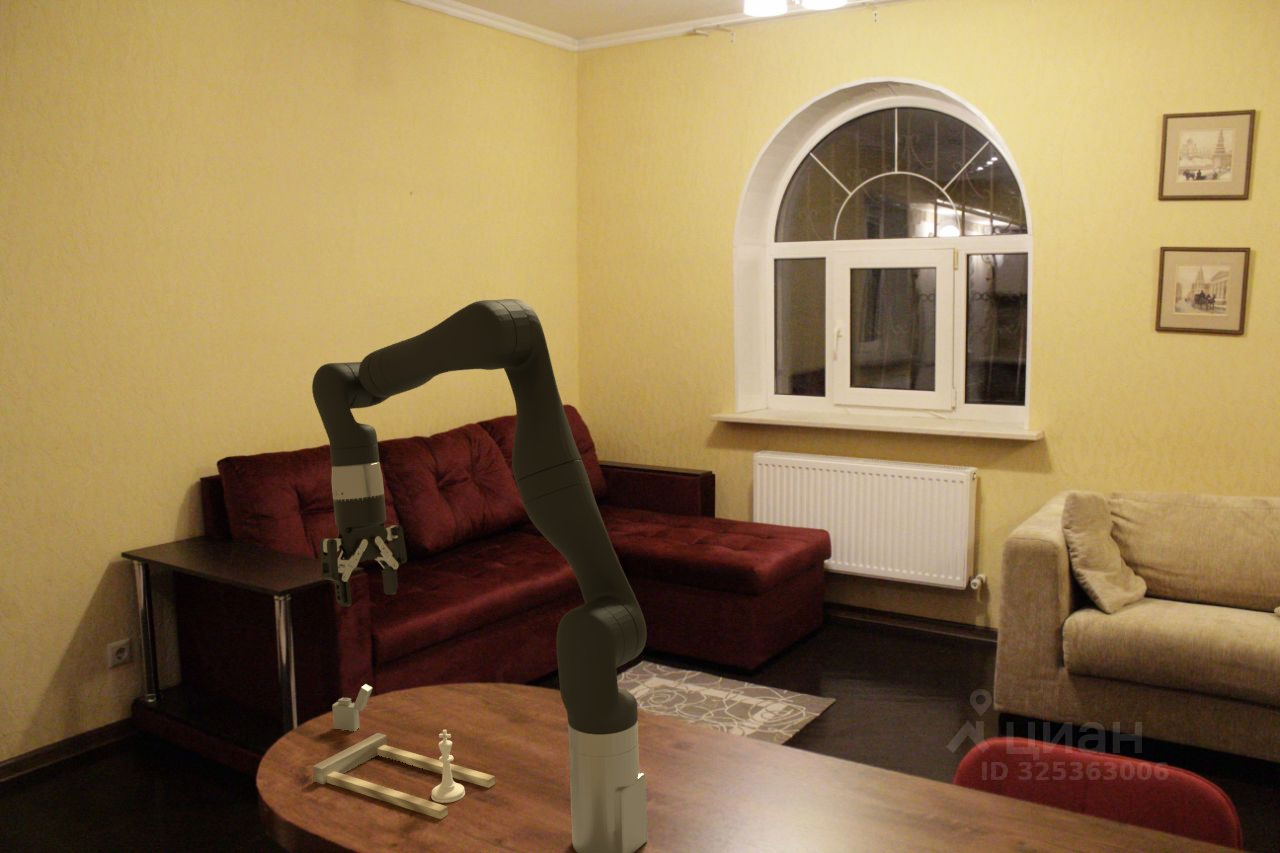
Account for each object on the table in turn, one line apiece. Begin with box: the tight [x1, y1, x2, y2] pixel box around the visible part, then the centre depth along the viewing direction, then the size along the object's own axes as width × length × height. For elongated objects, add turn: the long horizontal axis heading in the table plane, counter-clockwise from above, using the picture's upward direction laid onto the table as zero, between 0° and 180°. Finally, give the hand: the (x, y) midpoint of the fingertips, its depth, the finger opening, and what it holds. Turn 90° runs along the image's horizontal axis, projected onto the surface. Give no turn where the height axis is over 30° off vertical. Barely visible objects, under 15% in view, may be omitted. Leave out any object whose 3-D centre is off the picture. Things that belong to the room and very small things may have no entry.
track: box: [312, 732, 496, 820], centre depth 159 cm, size 25×14×2 cm, turn 58°
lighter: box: [332, 683, 373, 732], centre depth 178 cm, size 7×2×8 cm, turn 74°
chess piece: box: [430, 729, 466, 804], centre depth 154 cm, size 5×5×10 cm
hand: (368, 599), depth 160 cm, fingers open, 8 cm apart
